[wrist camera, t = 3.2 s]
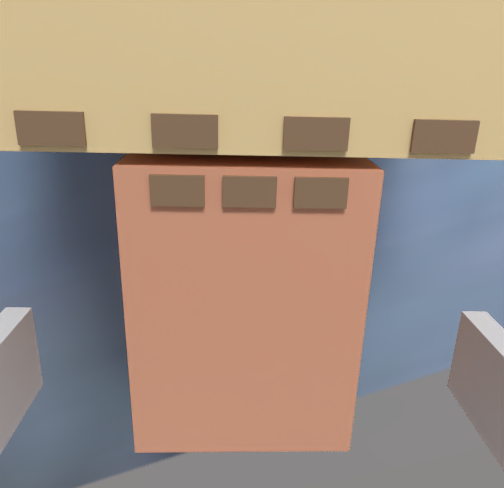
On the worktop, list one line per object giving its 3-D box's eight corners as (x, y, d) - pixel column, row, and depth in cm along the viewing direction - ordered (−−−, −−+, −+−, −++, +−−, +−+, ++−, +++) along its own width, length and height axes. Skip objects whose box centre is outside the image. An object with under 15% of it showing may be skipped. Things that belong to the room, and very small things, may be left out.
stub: (175, 110, 22) (110, 167, 10) (307, 113, 22) (385, 172, 11) (179, 273, 25) (134, 455, 13) (297, 274, 25) (350, 454, 14)
